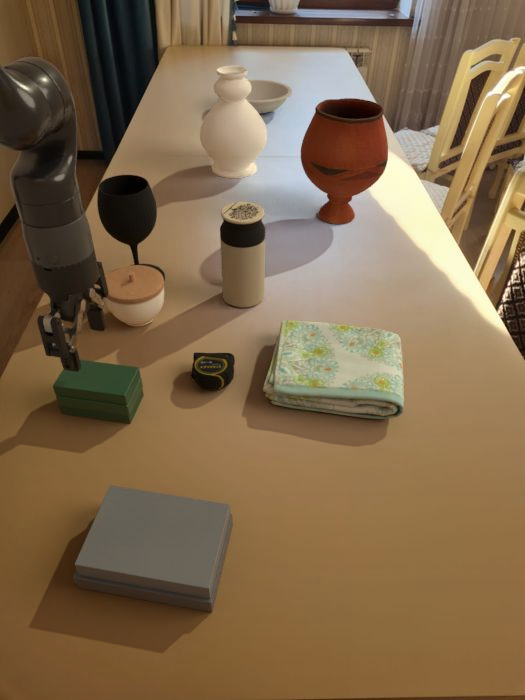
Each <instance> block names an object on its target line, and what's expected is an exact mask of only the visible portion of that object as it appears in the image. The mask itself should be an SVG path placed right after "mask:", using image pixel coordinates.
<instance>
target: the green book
mask: <svg viewBox="0 0 525 700" xmlns="http://www.w3.org/2000/svg"><path fill="white" fill-rule="evenodd" d="M80 363H81V366H82V367H81V369H80V370H79V371H78V372H75V371H68V370H65V369H64V368H62V370H61V371H60V373H59V375H58V376H57V378H56V379H55V381H54V382H53V384H52V388H53V392H54V394H55V396H57V395H58V396H66V397H73V398H80V399H87V400H94V401H101V402H109V403H116V404H123V405H127V404H128V402H129V400H130V398H131V396H132V394H133V392H134V390H135V388H136V386H137V383H138V381H139V379H140V378H142V376H141V371H140V367H138V366H131V365H125V364H116V363H109V362H100V361H94V360H86V359H80Z"/></svg>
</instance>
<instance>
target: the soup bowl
mask: <svg viewBox="0 0 525 700" xmlns="http://www.w3.org/2000/svg"><path fill="white" fill-rule="evenodd" d="M247 80H248V81H249V82H250V84H251V92H250V93H249V95H248V96H247V97H246V98H245V99H246V100H247V101H248V102H249V103H250V104H251V105H252V106H253V107H254V108H255V109H256V111H257V112H258V113H259V114H266V113H271V112H273V111H275V110H277V109H278V108H280V107H281V106H282V105H283V104H284V103H285V101H286V100H287V99H288V98H289V97H291V96H292V94H293V88H291V87H290V86H289V85H288V84H285V83H282V82H279V81H274V80H268V79H247Z"/></svg>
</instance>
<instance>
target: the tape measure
mask: <svg viewBox="0 0 525 700" xmlns="http://www.w3.org/2000/svg"><path fill="white" fill-rule="evenodd" d="M192 357H193V358H192V359H193V360H192V361H193V362H192V367H191V371H190V378H191V380H192V381H194V383H195V384H196V385H197V386H198V387H199V388H200V389H204V390H207V391H217V390H220V389H221V390H222V389H224V388H226V387H228V386H229V385H230V384H231V383H232V382H233V380H234V377H235V362H236V359H235V355H234V354H233V353H231V352H193V356H192Z"/></svg>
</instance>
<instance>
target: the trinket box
mask: <svg viewBox="0 0 525 700" xmlns="http://www.w3.org/2000/svg"><path fill="white" fill-rule="evenodd" d="M130 265H131V266H130ZM130 265H126V266H121V267H118V268H116V269H114V270H112V271H110V272H109V273H107V275H105V279H106V283H107V287H108V292H109V294H108V297H107V298H105V297H104V301H105V304H106V305H107V307H108V310H109V312H110V313H111V314H112V315H113V317H114V318H116V319H117V320H118V321H119V322H122V323H124V324H125V325H127V326H130V327H143V326H147V325H148V324H151V323H152V322H153V321H154V320H155V319H156V317H158V315H159V314H160V313H161V311H162V309H163V307H164V303H165V280H164V278H163V276H162V274H161V273H160V272H159V271H158V270H156V269H154V268H152V267H149V266H143V265H134V264H130Z"/></svg>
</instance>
